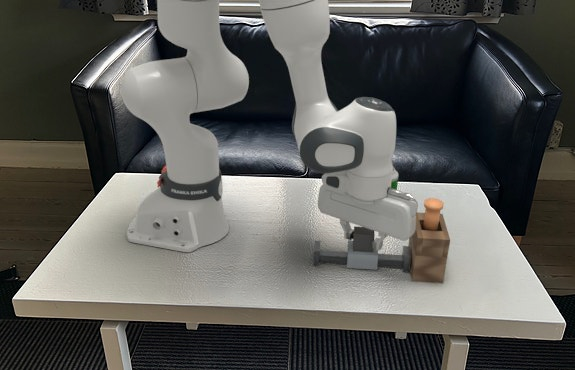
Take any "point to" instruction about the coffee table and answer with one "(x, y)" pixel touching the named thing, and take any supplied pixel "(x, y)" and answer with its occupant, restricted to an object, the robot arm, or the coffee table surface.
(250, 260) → the coffee table surface
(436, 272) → the wooden box with opening
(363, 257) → the carriage
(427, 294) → the coffee table surface
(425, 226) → the plunger
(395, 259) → the rail
